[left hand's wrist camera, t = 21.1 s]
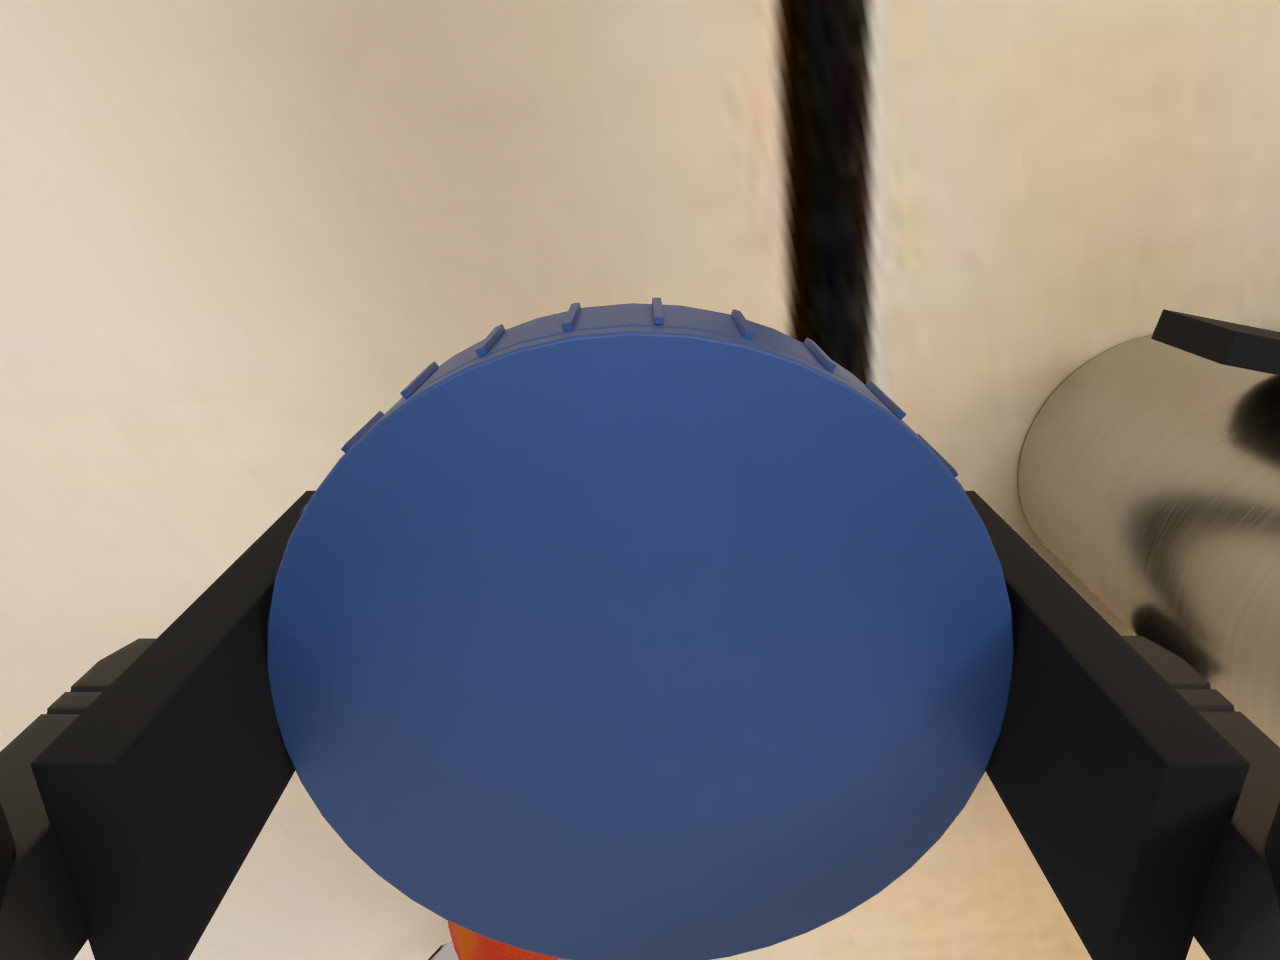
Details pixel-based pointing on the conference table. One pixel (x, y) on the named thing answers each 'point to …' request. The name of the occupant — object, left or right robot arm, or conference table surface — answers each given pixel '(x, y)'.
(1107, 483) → the jar
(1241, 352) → the right robot arm
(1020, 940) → the conference table surface
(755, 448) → the lid
